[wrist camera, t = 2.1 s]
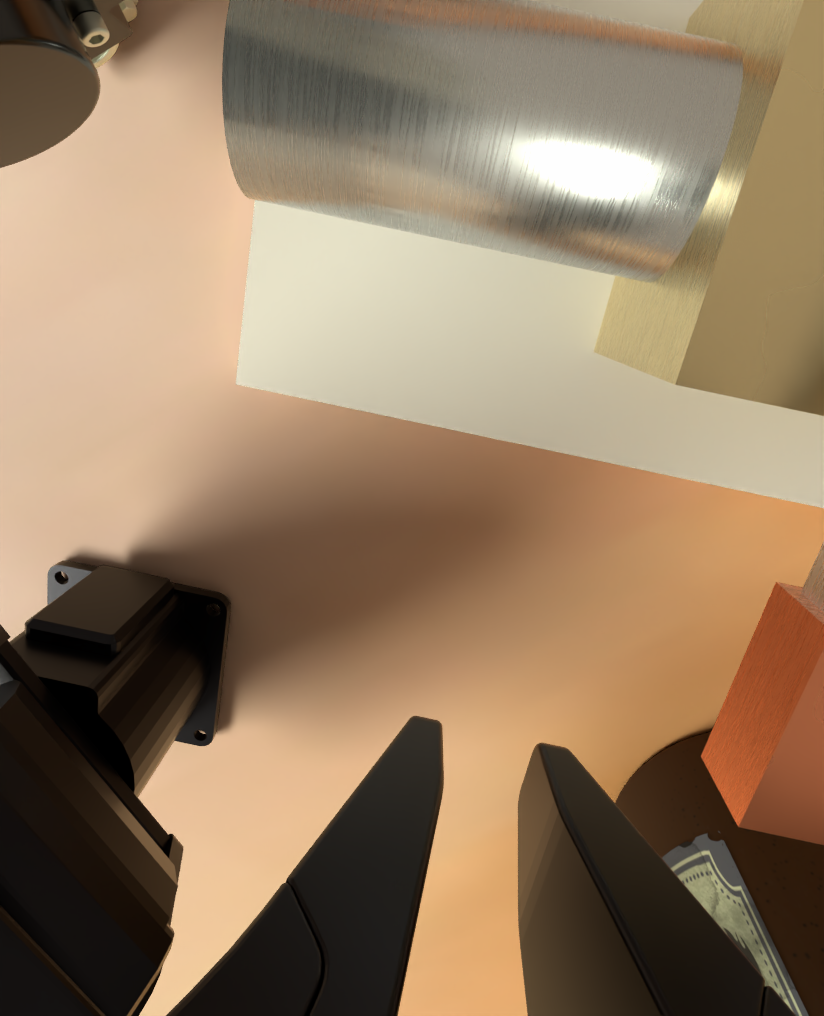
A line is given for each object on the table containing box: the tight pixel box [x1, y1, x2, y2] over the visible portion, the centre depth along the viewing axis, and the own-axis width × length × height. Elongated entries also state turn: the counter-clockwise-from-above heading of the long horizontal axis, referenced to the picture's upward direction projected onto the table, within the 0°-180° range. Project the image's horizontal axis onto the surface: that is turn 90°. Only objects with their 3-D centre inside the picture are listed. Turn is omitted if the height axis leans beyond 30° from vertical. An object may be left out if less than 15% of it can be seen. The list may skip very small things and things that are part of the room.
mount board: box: [236, 0, 824, 508], centre depth 17 cm, size 14×28×2 cm, turn 79°
